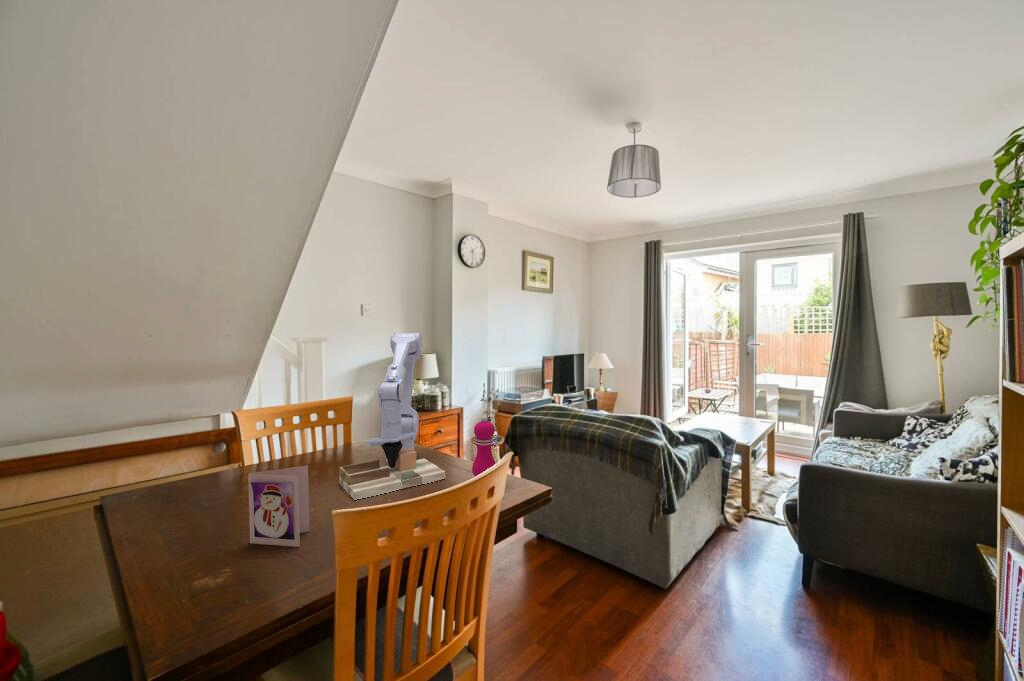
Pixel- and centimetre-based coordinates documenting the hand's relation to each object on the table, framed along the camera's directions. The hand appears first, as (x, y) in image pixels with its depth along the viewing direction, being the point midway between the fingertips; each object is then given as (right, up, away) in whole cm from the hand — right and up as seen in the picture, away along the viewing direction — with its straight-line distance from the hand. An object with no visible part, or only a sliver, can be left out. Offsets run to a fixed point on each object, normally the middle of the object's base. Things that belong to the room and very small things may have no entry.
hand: (391, 467), depth 129 cm
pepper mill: (+28, -4, -5) cm, 29 cm away
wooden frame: (-7, -1, -5) cm, 8 cm away
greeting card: (-14, -5, -36) cm, 38 cm away
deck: (+1, -4, -2) cm, 4 cm away
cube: (+3, -1, +3) cm, 4 cm away
